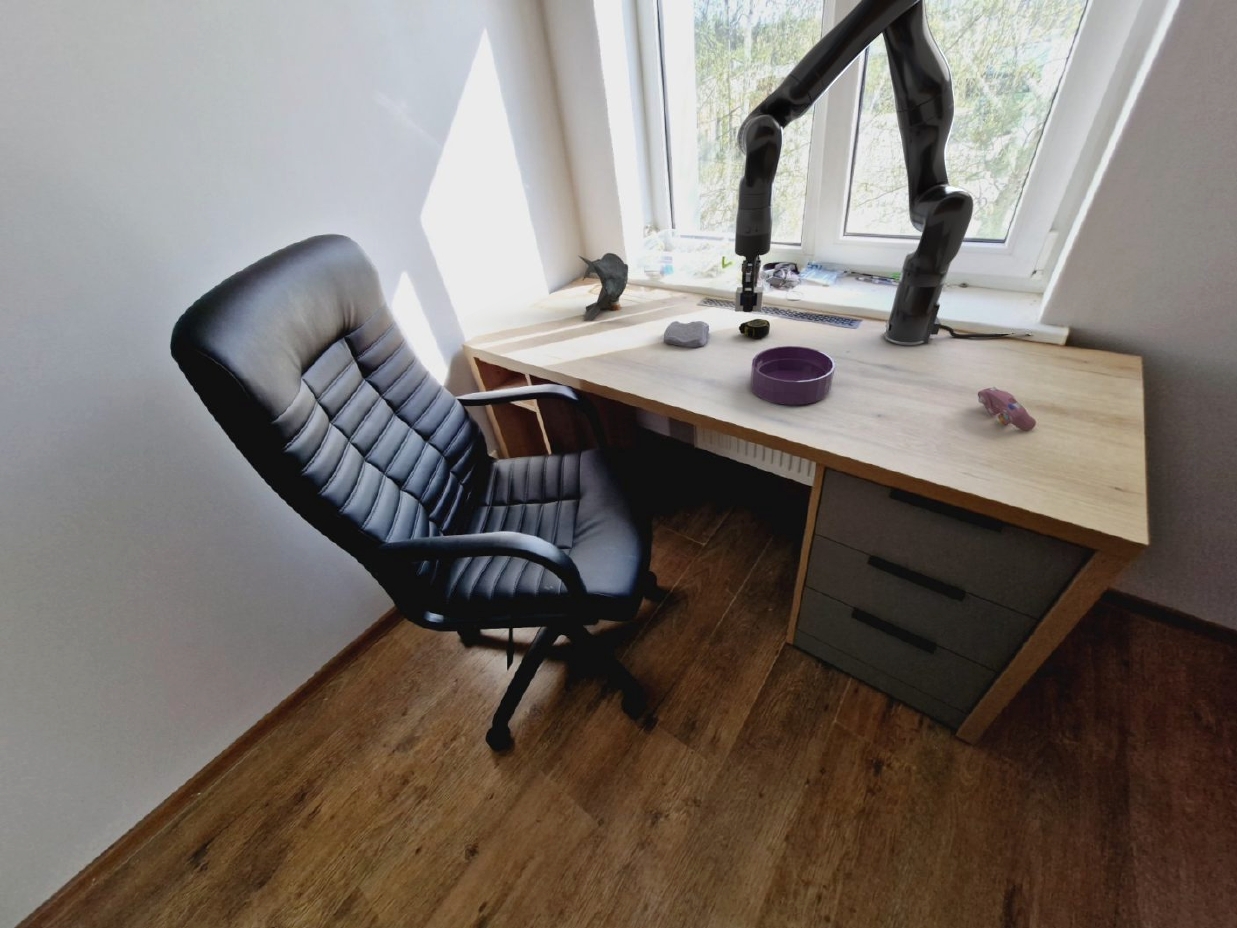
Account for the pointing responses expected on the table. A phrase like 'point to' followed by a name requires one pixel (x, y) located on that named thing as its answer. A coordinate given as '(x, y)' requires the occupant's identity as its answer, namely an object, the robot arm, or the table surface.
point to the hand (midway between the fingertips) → (748, 307)
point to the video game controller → (1006, 408)
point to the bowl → (792, 375)
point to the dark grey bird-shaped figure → (607, 283)
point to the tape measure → (755, 328)
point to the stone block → (687, 334)
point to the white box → (756, 302)
